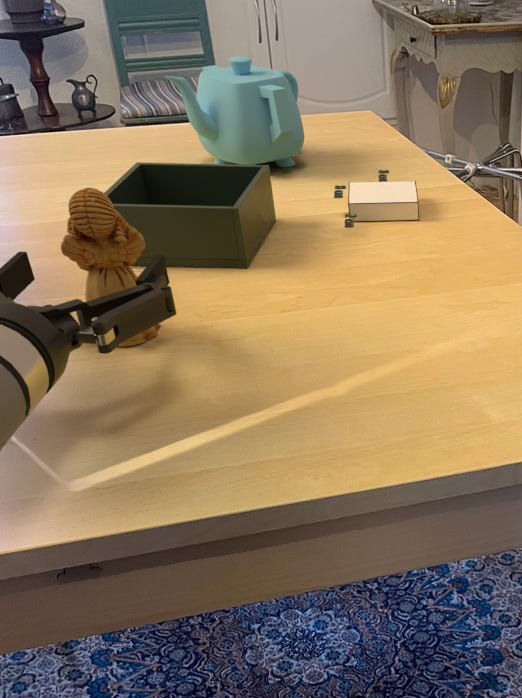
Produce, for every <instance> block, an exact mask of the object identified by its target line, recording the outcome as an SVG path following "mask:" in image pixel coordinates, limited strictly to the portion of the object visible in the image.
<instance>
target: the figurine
mask: <svg viewBox="0 0 522 698" xmlns="http://www.w3.org/2000/svg"><path fill="white" fill-rule="evenodd" d="M68 214H69V217H68V219H67V225H66V232H67V234H66V235H64V236H63V238H62V241H61V244H60V250H61V253H62V255H63V256H64V257H67V258H68V259H69V260H70V261H72V262H75V263H76V265H77V266H78V268H79V269H81V270H83V271H84V272H85V271H86V272H88V273H87V277H86V283H85V302H87V301H90V300H93V299H97V298H100V297H103V296H106V295H109V294H112V293H115V292H119V291H122V290H125V289H128V288H131V287H134V286H136V282H135V280H136V279H137V278H138V276H137V273H135V272H134V270H133V269H132V268H131V267H132V266H131V265H133V264H134V263H135V262H136V260H137V258H138V257H140V256H141V251H143V250H144V249H145V241H144V238H143V236H142V235H141V233H139V232H138V231H137V230H136V229H135V228H134V227H131V226H130V225H128V223H127V222H126V221H125V220H124V219H123V217H122V216H121V215H120V213H119V212H117V211H116V210H115V208H114V206H113V204H112V202H111V200H110V199H109V198H108V196H107V195H105V194H104V192H103V191H101V190H99V189H98V188H94V187H84V188H82V189H78V190H77V191H75V192H74V193H73V194H72V195H71V197H70V198H69V200H68ZM160 328H161V323H159V324H157V325H155V326H153V327H151V328H149V329H147V330H145V331H143V332H141V333H139V334H137V335H135V336H133V337H131V338H129V339H127V340H126V341H124V342H122V343H120V344H119V345H118V346H117V347H118V348H126V347H127V348H128V347H134V346H138V345H142V344H145V343H146V342H148V341H150V340H151V339H153V338H155V337H157V336H158V330H159V329H160ZM117 347H116V348H117Z"/></svg>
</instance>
